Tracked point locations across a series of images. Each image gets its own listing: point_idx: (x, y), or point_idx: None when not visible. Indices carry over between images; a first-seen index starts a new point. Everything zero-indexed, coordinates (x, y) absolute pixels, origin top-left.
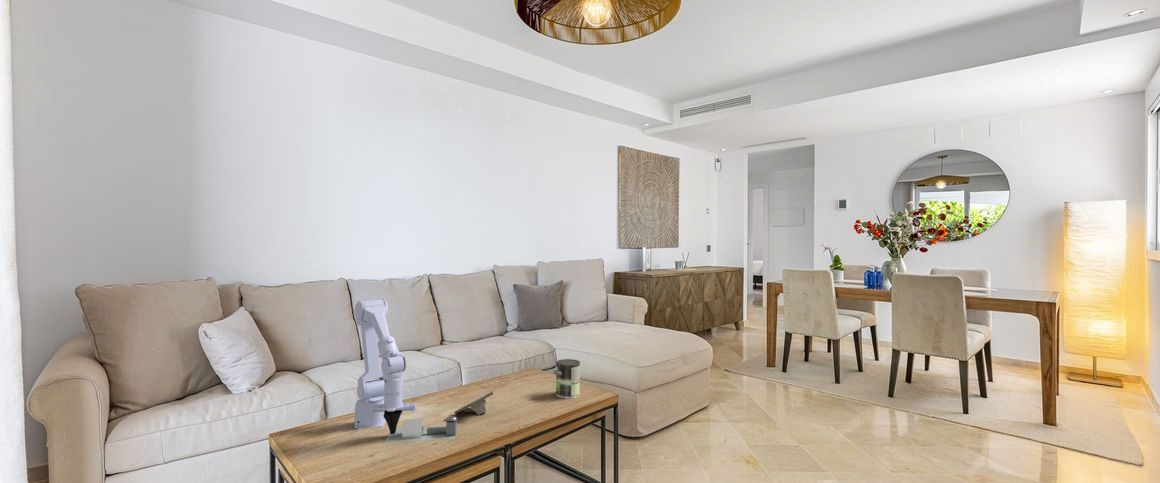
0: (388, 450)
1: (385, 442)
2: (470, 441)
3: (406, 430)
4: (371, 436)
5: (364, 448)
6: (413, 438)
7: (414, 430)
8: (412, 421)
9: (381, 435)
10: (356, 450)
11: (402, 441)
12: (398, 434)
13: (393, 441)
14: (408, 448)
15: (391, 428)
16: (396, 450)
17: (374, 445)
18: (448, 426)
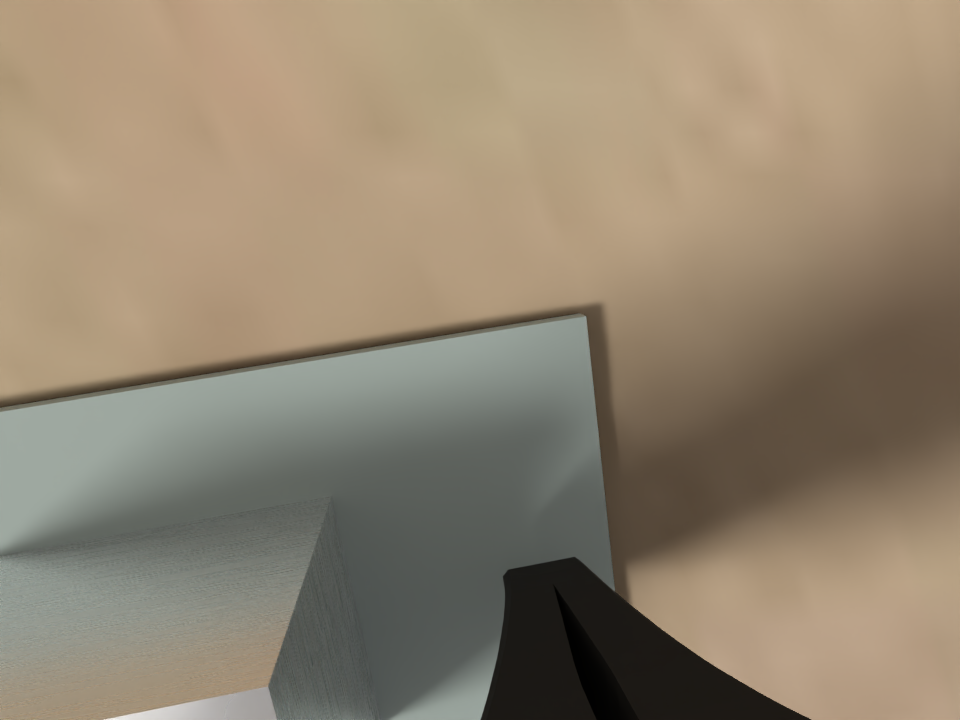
0: (396, 15)
1: (568, 320)
2: None
3: (209, 599)
4: (866, 572)
5: (849, 114)
6: (120, 511)
7: (16, 626)
8: None
9: (732, 617)
10: (956, 28)
11: (269, 369)
12: (468, 643)
13: (441, 366)
14: (32, 109)
15: (581, 614)
16: (237, 11)
17: (722, 243)
18: None
